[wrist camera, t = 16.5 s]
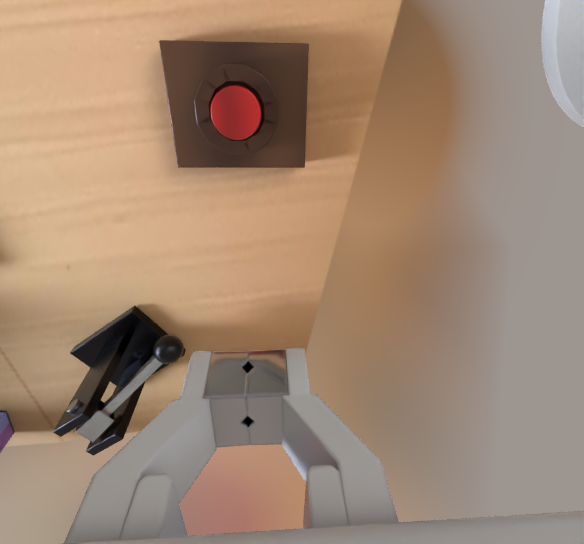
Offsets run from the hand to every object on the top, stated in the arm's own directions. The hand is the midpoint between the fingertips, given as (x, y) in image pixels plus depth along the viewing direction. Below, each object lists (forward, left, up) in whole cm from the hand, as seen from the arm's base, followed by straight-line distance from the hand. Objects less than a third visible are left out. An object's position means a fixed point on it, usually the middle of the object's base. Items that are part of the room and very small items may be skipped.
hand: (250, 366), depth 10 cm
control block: (+2, -4, -29) cm, 29 cm away
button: (+2, -4, -26) cm, 26 cm away
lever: (+15, +23, -22) cm, 35 cm away
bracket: (+18, +25, -29) cm, 42 cm away
